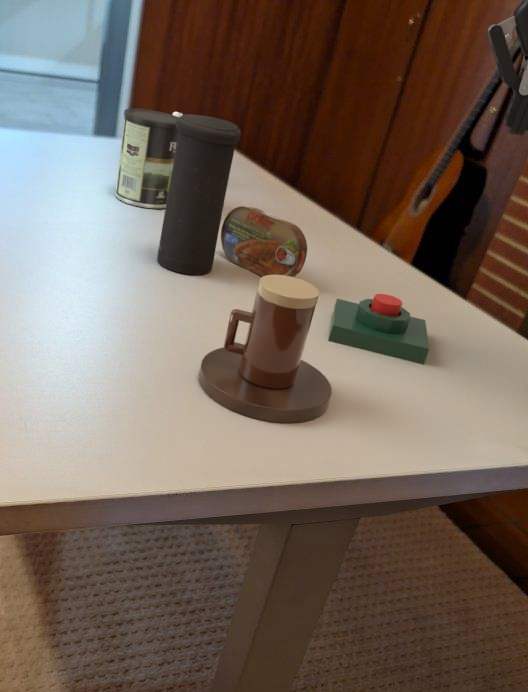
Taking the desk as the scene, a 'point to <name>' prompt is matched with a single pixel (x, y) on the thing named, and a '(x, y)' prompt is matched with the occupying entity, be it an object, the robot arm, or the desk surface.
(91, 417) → the desk surface
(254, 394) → the turntable
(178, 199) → the container
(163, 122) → the coffee can
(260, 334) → the mug
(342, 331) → the button block
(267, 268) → the tin
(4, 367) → the desk surface
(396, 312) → the button
